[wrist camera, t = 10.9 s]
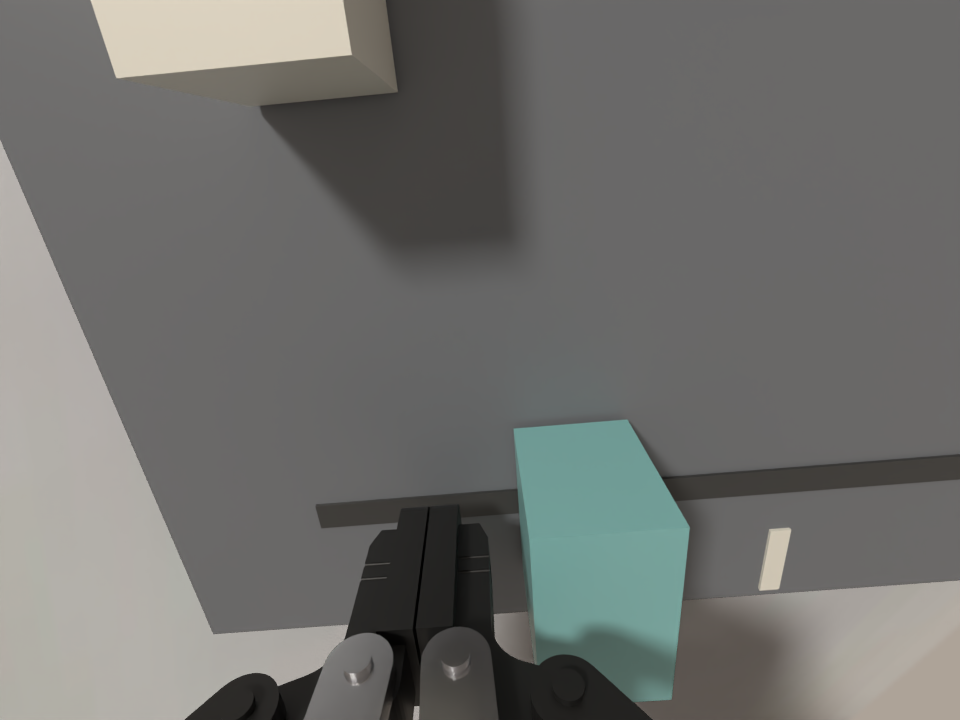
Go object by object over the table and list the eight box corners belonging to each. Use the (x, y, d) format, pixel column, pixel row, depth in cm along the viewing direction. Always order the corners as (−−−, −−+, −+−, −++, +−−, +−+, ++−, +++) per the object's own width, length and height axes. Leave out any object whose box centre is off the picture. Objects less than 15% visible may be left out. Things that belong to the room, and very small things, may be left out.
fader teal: (627, 419, 13) (689, 527, 9) (622, 562, 15) (671, 699, 11) (513, 428, 13) (528, 539, 9) (523, 570, 15) (539, 708, 11)
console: (1253, -379, 10) (1584, -604, 7) (937, 511, 18) (1024, 578, 15) (-33, -231, 10) (-229, -380, 7) (251, 563, 19) (211, 636, 16)
